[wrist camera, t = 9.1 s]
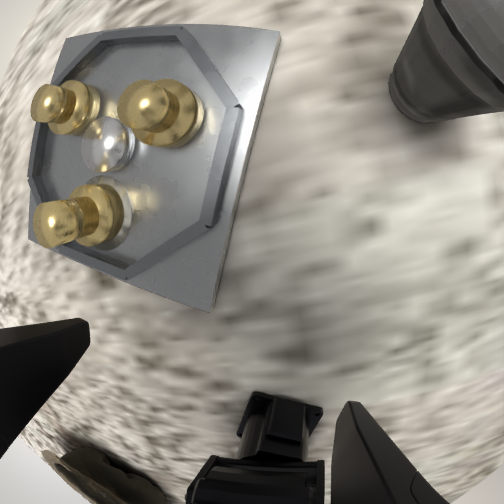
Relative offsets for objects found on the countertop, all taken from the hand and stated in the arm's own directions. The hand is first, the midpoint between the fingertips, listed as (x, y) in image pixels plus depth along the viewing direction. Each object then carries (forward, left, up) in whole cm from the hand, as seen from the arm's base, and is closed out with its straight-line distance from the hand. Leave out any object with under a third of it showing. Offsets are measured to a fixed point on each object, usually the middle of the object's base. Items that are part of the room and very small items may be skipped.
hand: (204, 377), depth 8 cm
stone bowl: (-44, +14, -13) cm, 48 cm away
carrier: (+6, +13, -12) cm, 19 cm away
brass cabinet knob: (+1, +13, -11) cm, 17 cm away
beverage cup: (+15, -7, -13) cm, 21 cm away
